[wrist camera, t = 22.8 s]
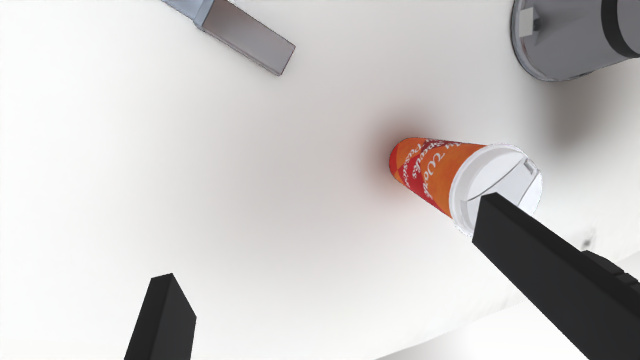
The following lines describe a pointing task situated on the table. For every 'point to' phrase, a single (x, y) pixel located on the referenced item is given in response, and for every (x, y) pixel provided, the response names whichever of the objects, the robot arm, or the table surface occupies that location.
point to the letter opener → (238, 31)
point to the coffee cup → (465, 176)
